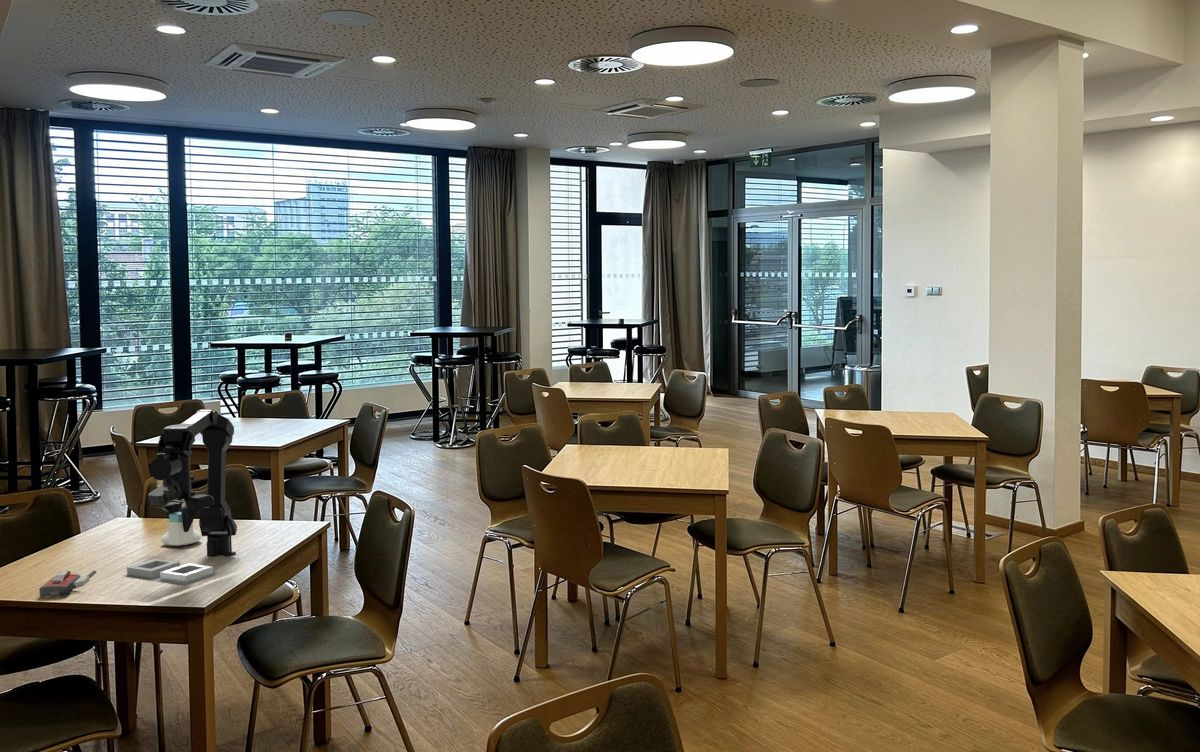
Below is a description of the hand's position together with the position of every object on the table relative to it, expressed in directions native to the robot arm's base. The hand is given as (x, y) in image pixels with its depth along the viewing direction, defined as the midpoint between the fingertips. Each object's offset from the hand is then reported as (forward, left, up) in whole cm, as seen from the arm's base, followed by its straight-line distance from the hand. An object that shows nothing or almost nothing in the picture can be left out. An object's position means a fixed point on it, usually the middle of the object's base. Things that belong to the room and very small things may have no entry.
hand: (181, 531), depth 261 cm
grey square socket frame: (0, -11, -13) cm, 17 cm away
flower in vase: (-27, -30, -13) cm, 42 cm away
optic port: (0, +1, -13) cm, 13 cm away
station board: (0, -5, -13) cm, 14 cm away
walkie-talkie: (+16, -23, -14) cm, 31 cm away
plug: (0, 0, -3) cm, 3 cm away
